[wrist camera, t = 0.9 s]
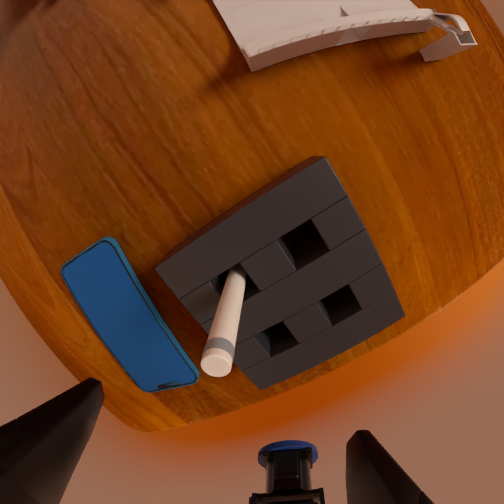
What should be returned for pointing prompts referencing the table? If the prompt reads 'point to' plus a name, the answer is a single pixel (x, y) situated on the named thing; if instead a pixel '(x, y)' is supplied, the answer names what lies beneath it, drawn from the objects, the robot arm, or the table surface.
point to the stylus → (225, 325)
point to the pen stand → (288, 275)
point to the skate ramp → (332, 26)
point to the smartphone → (127, 318)
